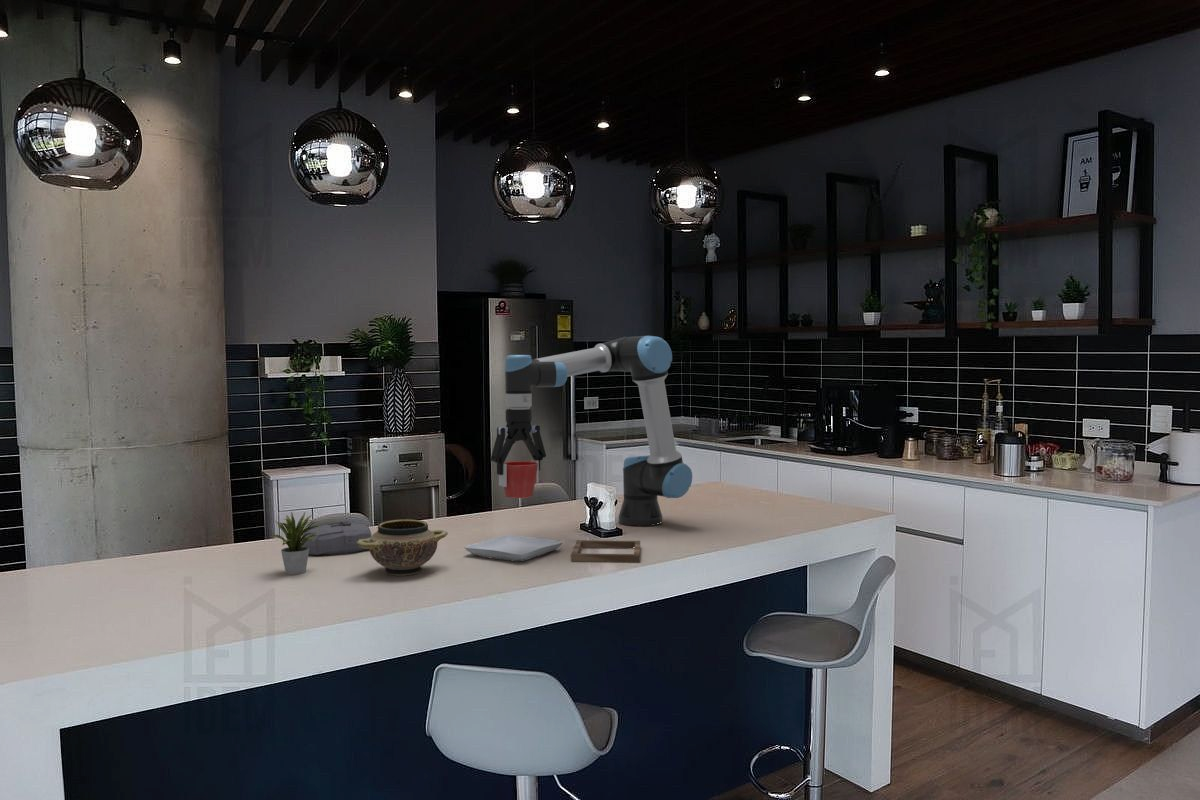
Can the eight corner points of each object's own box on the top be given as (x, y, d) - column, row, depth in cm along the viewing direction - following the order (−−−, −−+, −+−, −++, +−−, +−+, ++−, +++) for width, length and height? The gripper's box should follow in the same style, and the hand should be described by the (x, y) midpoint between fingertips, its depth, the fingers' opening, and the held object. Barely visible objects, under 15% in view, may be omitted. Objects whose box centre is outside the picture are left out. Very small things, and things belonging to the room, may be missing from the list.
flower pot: (504, 493, 257) (503, 460, 256) (540, 493, 256) (540, 461, 255) (496, 499, 246) (496, 465, 246) (534, 499, 245) (534, 465, 245)
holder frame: (576, 546, 261) (576, 540, 260) (640, 547, 259) (640, 540, 259) (571, 561, 242) (570, 554, 241) (639, 562, 240) (639, 555, 240)
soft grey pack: (363, 542, 268) (296, 550, 258) (363, 516, 268) (295, 522, 258) (376, 552, 255) (306, 560, 245) (376, 524, 255) (305, 531, 245)
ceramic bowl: (362, 593, 219) (365, 539, 215) (347, 562, 234) (350, 511, 230) (455, 582, 231) (459, 530, 227) (436, 552, 246) (439, 504, 242)
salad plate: (506, 544, 267) (506, 533, 266) (564, 551, 256) (564, 540, 256) (462, 557, 248) (461, 546, 248) (522, 566, 238) (522, 554, 237)
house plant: (312, 580, 222) (311, 517, 221) (259, 580, 223) (257, 517, 222) (330, 566, 236) (329, 507, 236) (280, 566, 237) (279, 507, 236)
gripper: (492, 410, 239) (493, 489, 240) (558, 407, 255) (558, 481, 256) (477, 409, 245) (478, 486, 246) (542, 406, 260) (542, 479, 261)
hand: (519, 484), depth 251 cm, fingers closed on flower pot, 11 cm apart
